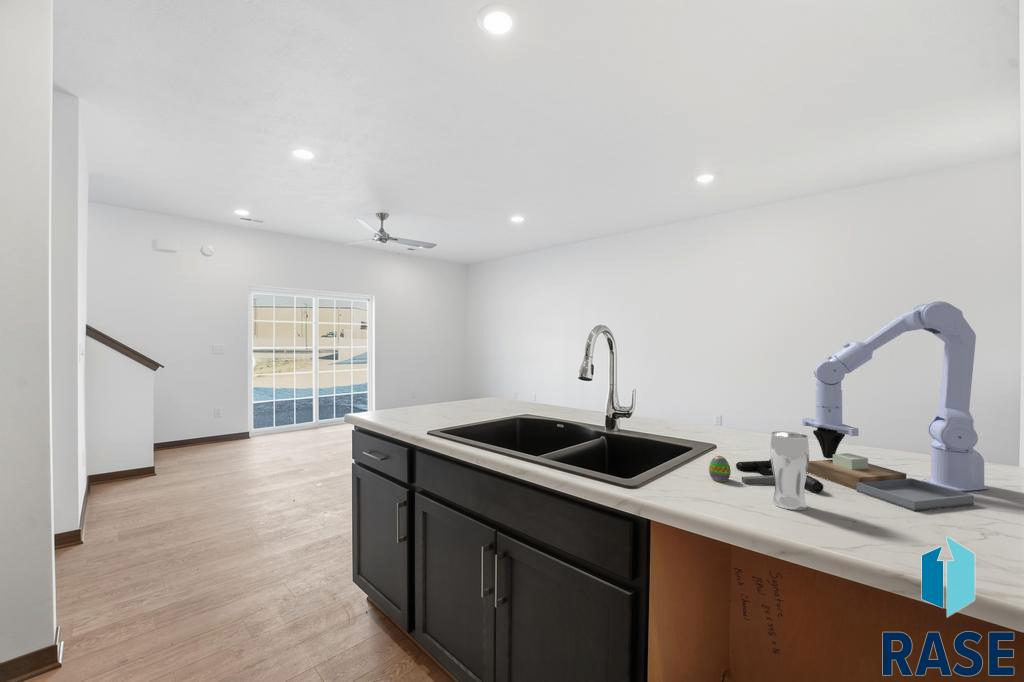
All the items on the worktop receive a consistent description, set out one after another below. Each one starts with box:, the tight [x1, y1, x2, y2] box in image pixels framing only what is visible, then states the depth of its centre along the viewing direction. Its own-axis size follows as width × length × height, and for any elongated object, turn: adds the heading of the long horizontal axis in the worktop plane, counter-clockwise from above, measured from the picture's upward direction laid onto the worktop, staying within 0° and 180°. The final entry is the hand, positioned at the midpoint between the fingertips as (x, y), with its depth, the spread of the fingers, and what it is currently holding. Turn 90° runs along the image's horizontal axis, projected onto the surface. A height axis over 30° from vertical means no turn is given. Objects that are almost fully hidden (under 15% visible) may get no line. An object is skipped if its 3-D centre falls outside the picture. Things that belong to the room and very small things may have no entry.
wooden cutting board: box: [807, 458, 907, 491], centre depth 110 cm, size 14×14×3 cm
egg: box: [708, 455, 731, 483], centre depth 109 cm, size 5×5×6 cm
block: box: [832, 452, 869, 470], centre depth 110 cm, size 5×5×2 cm
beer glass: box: [769, 430, 810, 512], centre depth 92 cm, size 7×7×15 cm
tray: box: [856, 477, 975, 512], centre depth 97 cm, size 16×12×2 cm
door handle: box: [735, 458, 825, 494], centre depth 110 cm, size 3×20×16 cm
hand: (828, 457), depth 116 cm, fingers closed
